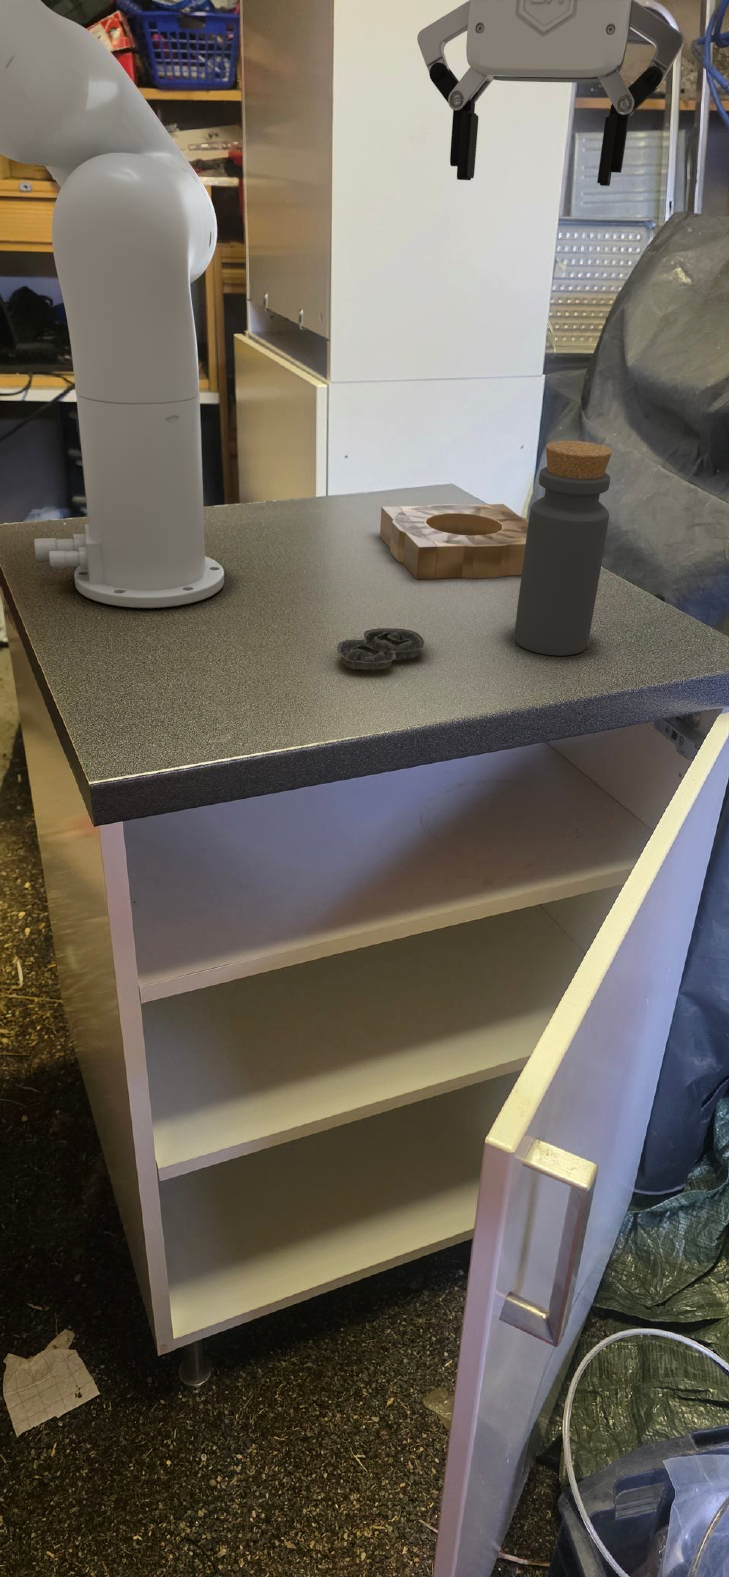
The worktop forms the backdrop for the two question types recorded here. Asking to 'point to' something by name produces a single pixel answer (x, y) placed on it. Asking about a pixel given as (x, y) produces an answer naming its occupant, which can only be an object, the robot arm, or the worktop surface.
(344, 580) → the worktop surface
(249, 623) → the worktop surface
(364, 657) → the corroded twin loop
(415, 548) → the socket pad
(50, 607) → the worktop surface
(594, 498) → the bottle
